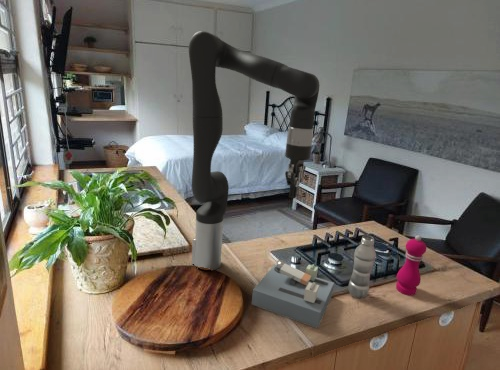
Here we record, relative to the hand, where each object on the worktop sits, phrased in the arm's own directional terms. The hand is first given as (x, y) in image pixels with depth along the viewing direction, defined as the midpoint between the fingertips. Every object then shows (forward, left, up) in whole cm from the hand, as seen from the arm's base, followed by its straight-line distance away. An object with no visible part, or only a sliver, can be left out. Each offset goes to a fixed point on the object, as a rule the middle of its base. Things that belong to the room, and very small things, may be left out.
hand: (292, 197), depth 111 cm
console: (+7, -10, -29) cm, 31 cm away
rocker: (+6, -8, -22) cm, 24 cm away
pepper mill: (+38, +16, -29) cm, 51 cm away
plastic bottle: (+24, +4, -29) cm, 38 cm away
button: (0, -4, -24) cm, 24 cm away
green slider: (+10, -4, -24) cm, 26 cm away
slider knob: (+13, -14, -24) cm, 31 cm away
